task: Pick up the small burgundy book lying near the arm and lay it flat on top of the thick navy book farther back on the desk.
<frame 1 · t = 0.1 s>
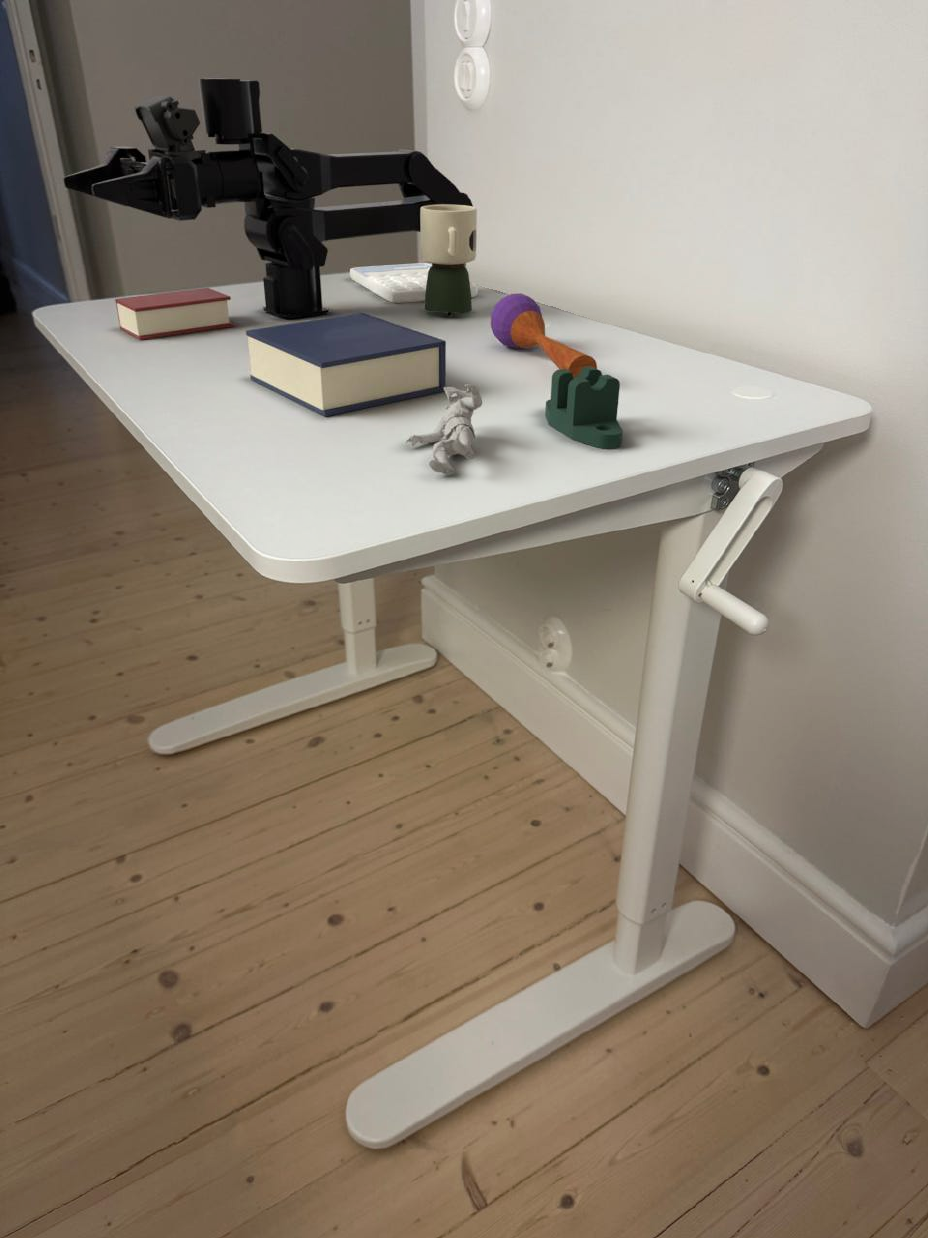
hand: (78, 186, 103), 17 cm above the table, tool horizontal, fingers open, 9 cm apart
big book: (346, 385, 97), on the table
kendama: (540, 364, 106), on the table
mount: (581, 430, 86), on the table
small book: (177, 327, 117), on the table
soldier figure: (454, 454, 81), on the table
calculator: (411, 288, 141), on the table
character mug: (448, 315, 126), on the table
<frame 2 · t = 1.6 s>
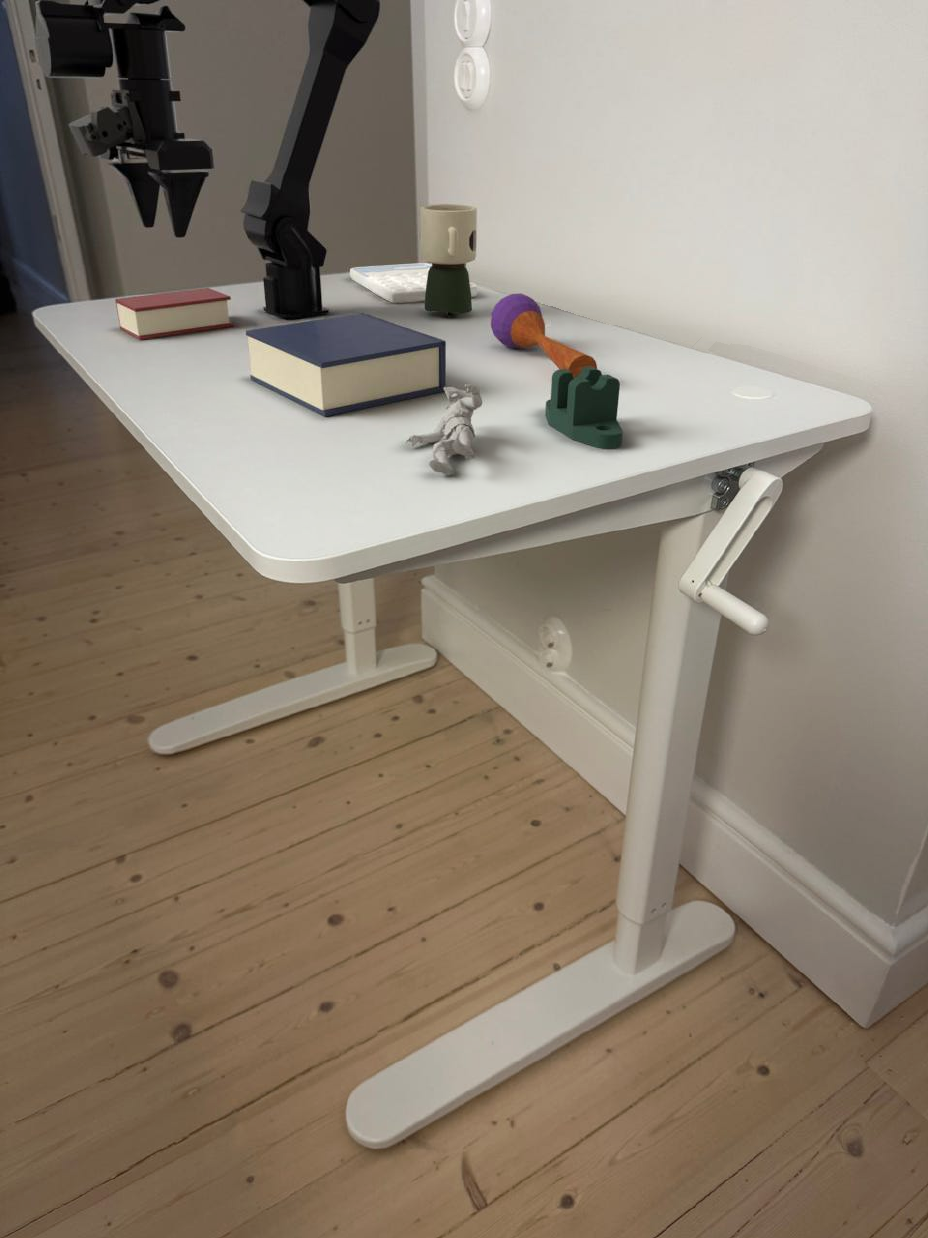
hand: (164, 231, 112), 11 cm above the table, tool pointing down, fingers open, 9 cm apart
nothing on the table moved.
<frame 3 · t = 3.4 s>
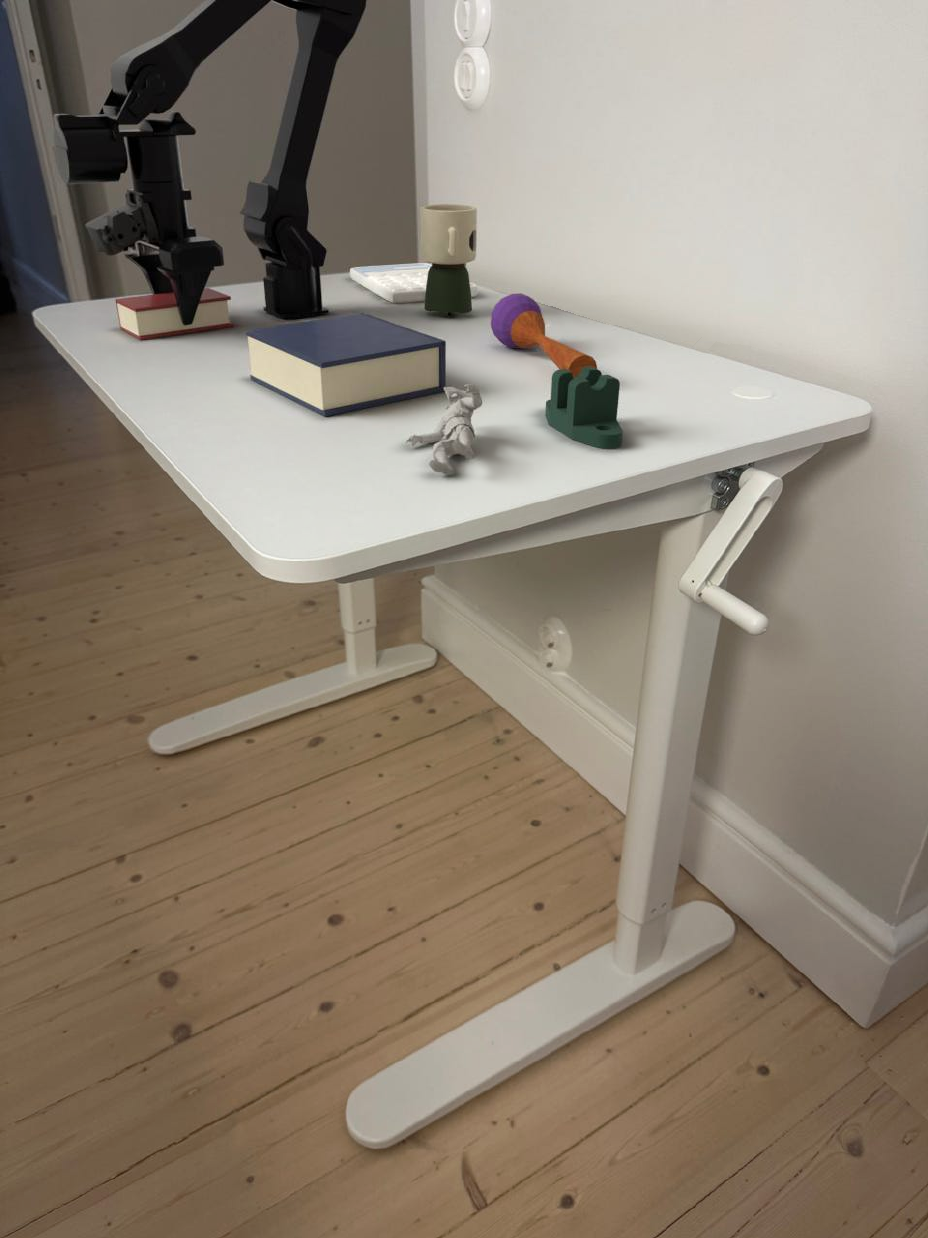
hand: (176, 319, 117), 1 cm above the table, tool pointing down, fingers closed on small book, 6 cm apart
small book: (177, 327, 117), on the table, touching gripper
everything else where it was.
when the fingers open (6 cm above the table, at t = 9.2 s): small book stays where it is, resting on big book.
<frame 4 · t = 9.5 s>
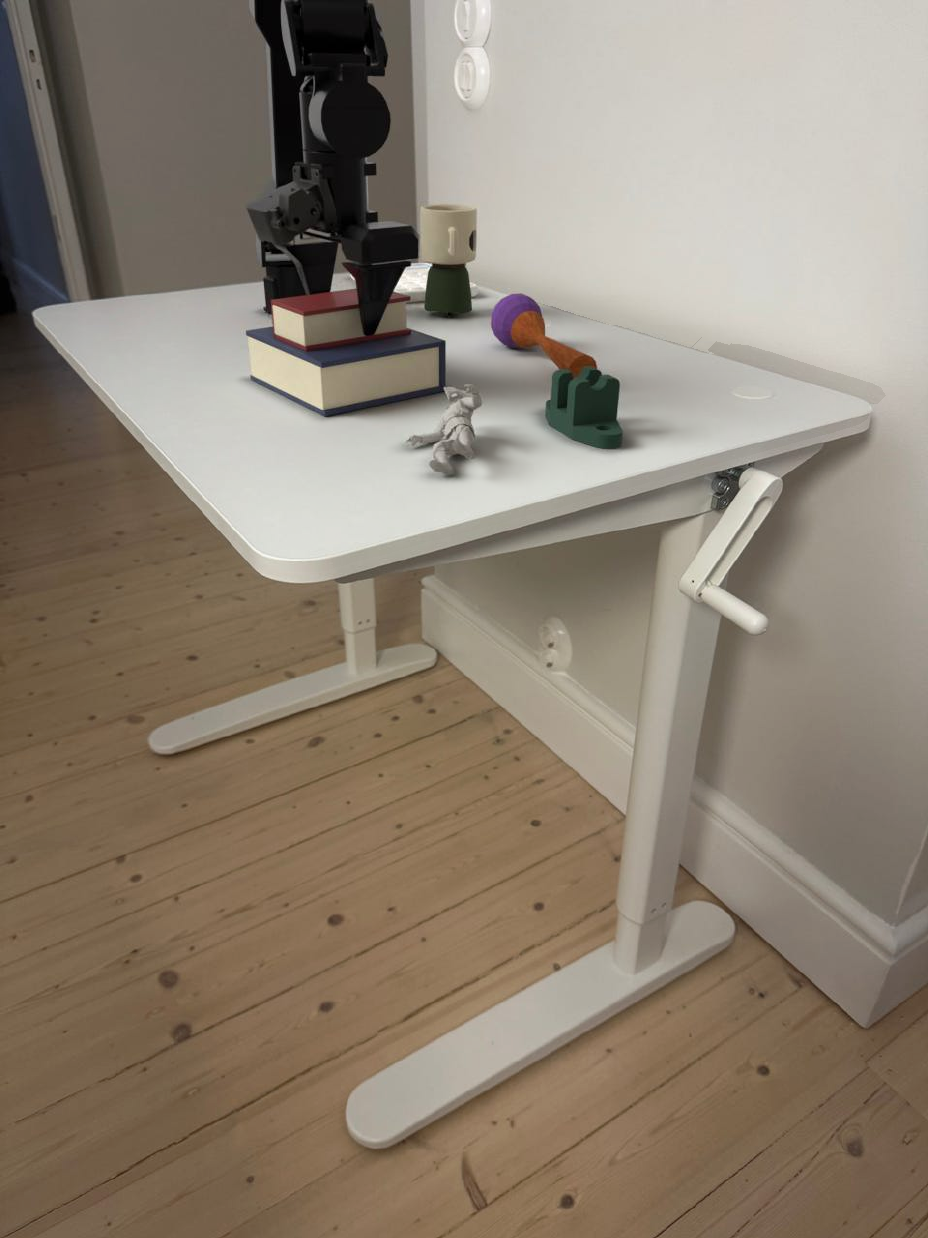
hand: (343, 325, 94), 6 cm above the table, tool pointing down, fingers open, 9 cm apart
big book: (346, 385, 97), on the table, touching small book
small book: (343, 335, 95), point 5 cm above the table, touching big book
everything else where it was.
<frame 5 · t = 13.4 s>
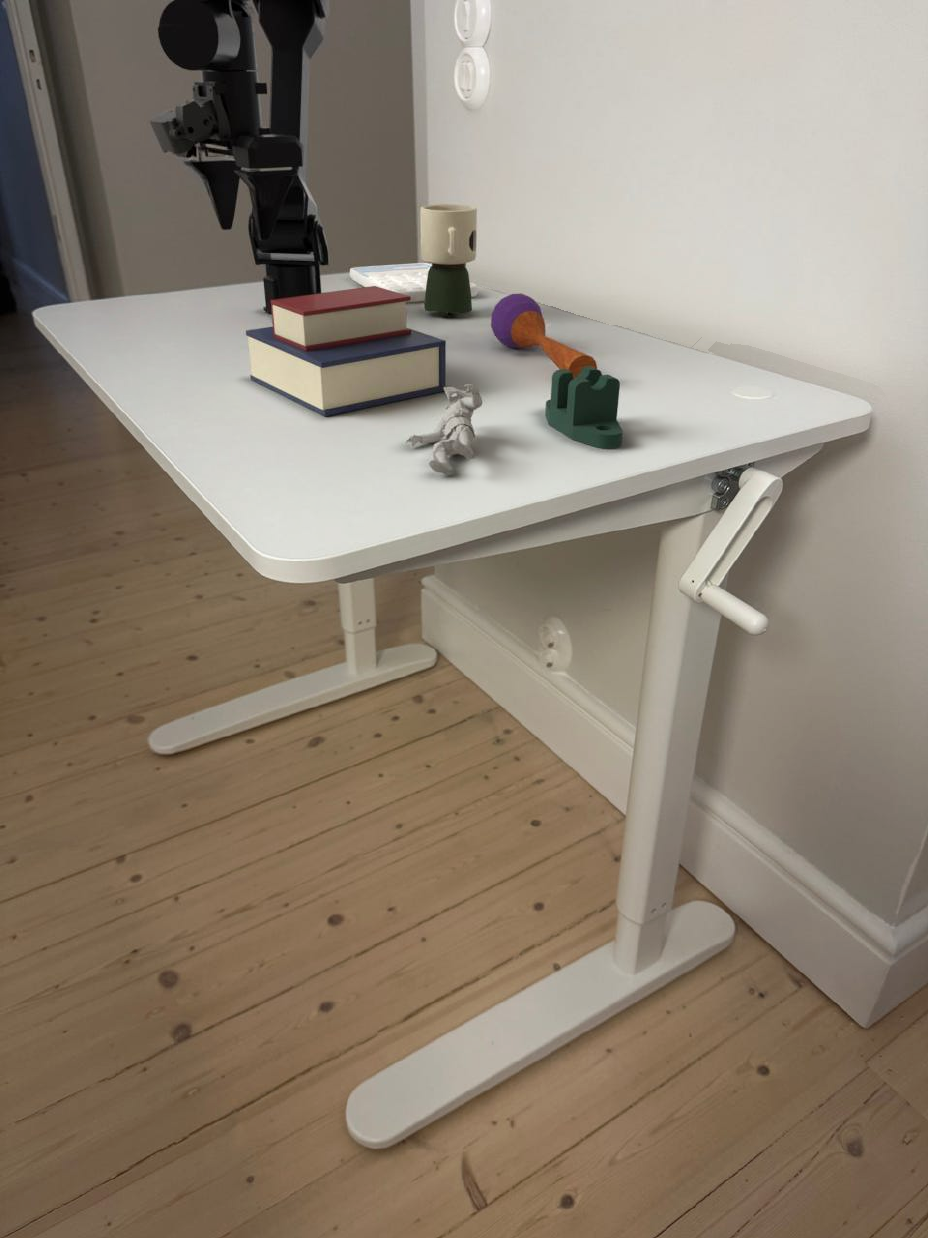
hand: (245, 234, 105), 12 cm above the table, tool pointing down, fingers open, 9 cm apart
nothing on the table moved.
at the end: small book inside the target area on the big book (0.1 cm from its centre), point 5.0 cm above the big book's base; small book tilted 0°; the gripper is holding nothing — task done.
